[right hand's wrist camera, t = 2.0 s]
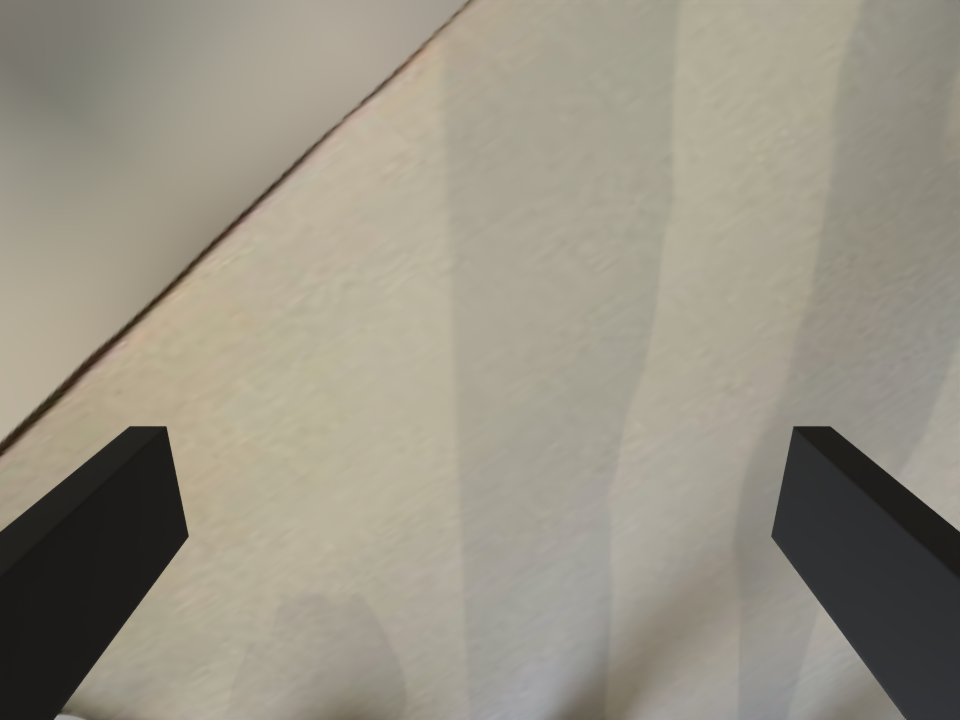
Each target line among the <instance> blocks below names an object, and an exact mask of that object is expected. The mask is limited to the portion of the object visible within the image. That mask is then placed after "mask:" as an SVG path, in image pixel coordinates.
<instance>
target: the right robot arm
mask: <svg viewBox="0 0 960 720" xmlns="http://www.w3.org/2000/svg"><path fill="white" fill-rule="evenodd" d="M188 537H189V535H188V530H187V526H186V521H185V516H184V511H183V506H182V501H181V496H180V491H179V486H178V481H177V476H176V471H175V466H174V462H173V457H172V452H171V447H170V442H169V437H168V432H167V427H166V426H130V427H128V428H127V429H126V430H125V431H124V432H122V433H121V434H120V435H119V436H117V437H116V438H115V439H114V440H112V441H111V442H110V443H109V444H108V445H106V446H105V447H104V448H103V449H101V450H100V451H99V452H98V453H97V454H95V455H94V456H93V457H92V458H90V459H89V460H88V461H87V462H85V463H84V464H83V465H82V466H81V467H79V468H78V469H77V470H76V471H74V472H73V473H72V474H71V475H70V476H68V477H67V478H66V479H65V480H63V481H62V482H61V483H60V484H59V485H57V486H56V487H55V488H54V489H52V490H51V491H50V492H49V493H47V494H46V495H45V496H44V497H43V498H41V499H40V500H39V501H38V502H36V503H35V504H34V505H33V506H32V507H30V508H29V509H28V510H27V511H25V512H24V513H23V514H22V515H20V516H19V517H18V518H17V519H16V520H14V521H13V522H12V523H11V524H9V525H8V526H7V527H6V528H5V529H3V530H2V531H1V532H0V720H54V719H55V717H56V716H57V715H58V713H59V712H60V711H61V709H62V708H63V707H64V705H65V704H66V702H67V701H68V700H69V698H70V697H71V696H72V694H73V693H74V692H75V690H76V689H77V688H78V686H79V685H80V683H81V682H82V681H83V679H84V678H85V677H86V675H87V674H88V673H89V671H90V670H91V669H92V667H93V666H94V664H95V663H96V662H97V660H98V659H99V658H100V656H101V655H102V654H103V652H104V651H105V650H106V648H107V647H108V645H109V644H110V643H111V641H112V640H113V639H114V637H115V636H116V635H117V633H118V632H119V630H120V629H121V628H122V626H123V625H124V624H125V622H126V621H127V620H128V618H129V617H130V616H131V614H132V613H133V611H134V610H135V609H136V607H137V606H138V605H139V603H140V602H141V601H142V599H143V598H144V597H145V595H146V594H147V592H148V591H149V590H150V588H151V587H152V586H153V584H154V583H155V582H156V580H157V579H158V578H159V576H160V575H161V573H162V572H163V571H164V569H165V568H166V567H167V565H168V564H169V563H170V561H171V560H172V559H173V557H174V556H175V554H176V553H177V552H178V550H179V549H180V548H181V546H182V545H183V544H184V542H185V541H186V539H187V538H188ZM771 537H772V538H773V539H774V541H775V542H776V544H777V545H778V546H779V548H780V549H781V550H782V552H783V553H784V554H785V556H786V557H787V559H788V560H789V561H790V563H791V564H792V565H793V567H794V568H795V569H796V571H797V572H798V573H799V575H800V576H801V578H802V579H803V580H804V582H805V583H806V584H807V586H808V587H809V588H810V590H811V591H812V592H813V594H814V595H815V597H816V598H817V599H818V601H819V602H820V603H821V605H822V606H823V607H824V609H825V610H826V611H827V613H828V614H829V616H830V617H831V618H832V620H833V621H834V622H835V624H836V625H837V626H838V628H839V629H840V630H841V632H842V633H843V635H844V636H845V637H846V639H847V640H848V641H849V643H850V644H851V645H852V647H853V648H854V650H855V651H856V652H857V654H858V655H859V656H860V658H861V659H862V660H863V662H864V663H865V664H866V666H867V667H868V669H869V670H870V671H871V673H872V674H873V675H874V677H875V678H876V679H877V681H878V682H879V683H880V685H881V686H882V688H883V689H884V690H885V692H886V693H887V694H888V696H889V697H890V698H891V700H892V701H893V702H894V704H895V705H896V707H897V708H898V709H899V711H900V712H901V713H902V715H903V716H904V717H905V719H906V720H960V532H959V531H958V530H957V529H955V528H954V527H953V526H952V525H951V524H949V523H948V522H947V521H946V520H944V519H943V518H942V517H941V516H940V515H938V514H937V513H936V512H935V511H933V510H932V509H931V508H930V507H928V506H927V505H926V504H925V503H924V502H922V501H921V500H920V499H919V498H917V497H916V496H915V495H914V494H913V493H911V492H910V491H909V490H908V489H906V488H905V487H904V486H903V485H901V484H900V483H899V482H898V481H897V480H895V479H894V478H893V477H892V476H890V475H889V474H888V473H887V472H886V471H884V470H883V469H882V468H881V467H879V466H878V465H877V464H876V463H875V462H873V461H872V460H871V459H870V458H868V457H867V456H866V455H865V454H863V453H862V452H861V451H860V450H859V449H857V448H856V447H855V446H854V445H852V444H851V443H850V442H849V441H848V440H846V439H845V438H844V437H843V436H841V435H840V434H839V433H838V432H836V431H835V430H834V429H833V428H832V427H830V426H794V427H793V432H792V437H791V442H790V447H789V452H788V457H787V462H786V466H785V471H784V476H783V481H782V486H781V491H780V496H779V501H778V506H777V511H776V516H775V521H774V526H773V530H772V535H771Z"/></svg>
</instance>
